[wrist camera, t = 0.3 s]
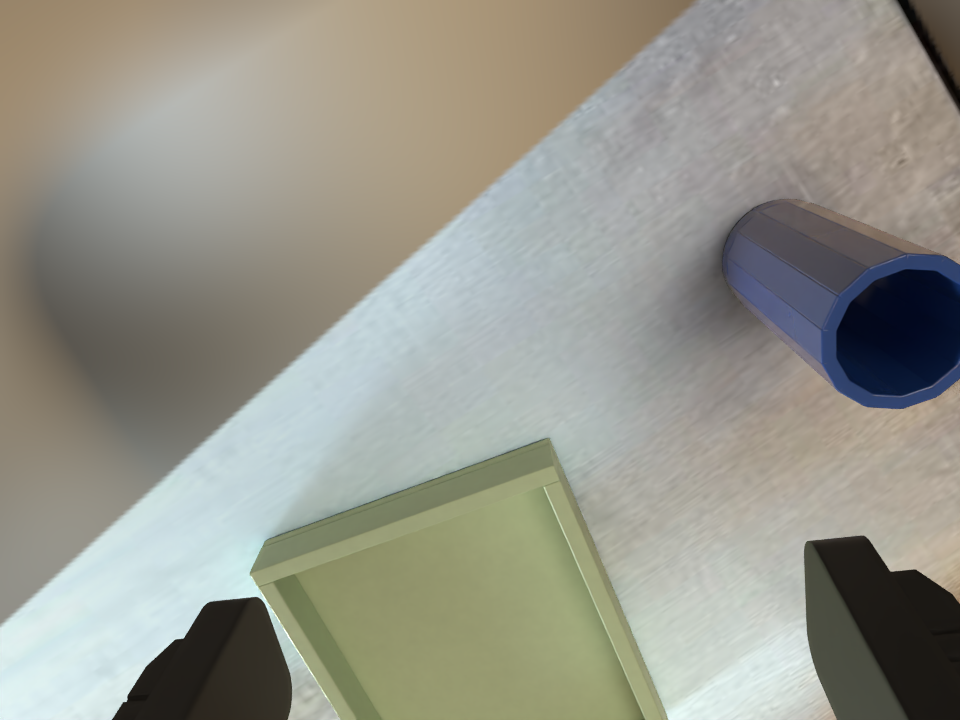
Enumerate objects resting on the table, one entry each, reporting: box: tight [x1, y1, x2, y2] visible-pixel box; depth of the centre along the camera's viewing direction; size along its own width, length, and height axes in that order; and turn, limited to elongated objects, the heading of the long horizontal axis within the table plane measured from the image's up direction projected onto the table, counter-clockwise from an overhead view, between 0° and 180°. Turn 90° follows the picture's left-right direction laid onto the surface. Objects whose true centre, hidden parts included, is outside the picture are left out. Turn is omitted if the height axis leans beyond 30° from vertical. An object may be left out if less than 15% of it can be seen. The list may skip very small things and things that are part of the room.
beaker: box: [722, 199, 960, 409], centre depth 26 cm, size 5×5×10 cm
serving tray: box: [250, 438, 668, 720], centre depth 37 cm, size 18×15×3 cm
